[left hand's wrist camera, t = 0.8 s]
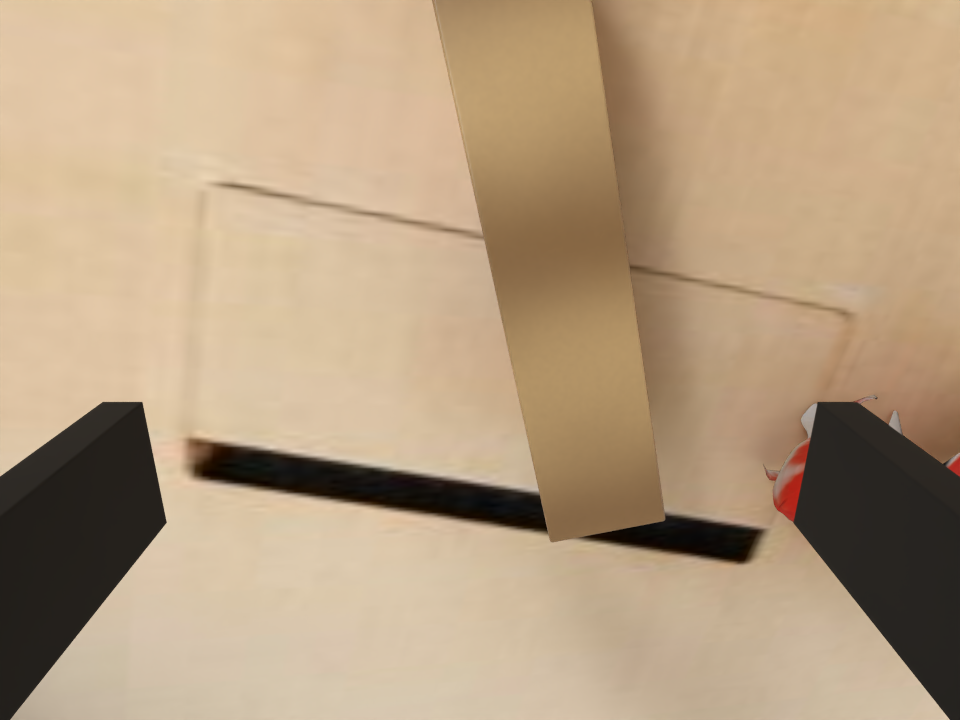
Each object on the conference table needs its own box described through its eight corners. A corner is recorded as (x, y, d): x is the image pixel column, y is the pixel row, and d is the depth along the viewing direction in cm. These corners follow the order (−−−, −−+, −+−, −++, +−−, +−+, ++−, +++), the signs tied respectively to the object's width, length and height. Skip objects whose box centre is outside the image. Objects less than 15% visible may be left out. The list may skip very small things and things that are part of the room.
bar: (616, 421, 33) (666, 521, 25) (530, 439, 34) (550, 543, 25) (530, -104, 25) (560, -223, 17) (419, -75, 26) (393, -178, 17)
